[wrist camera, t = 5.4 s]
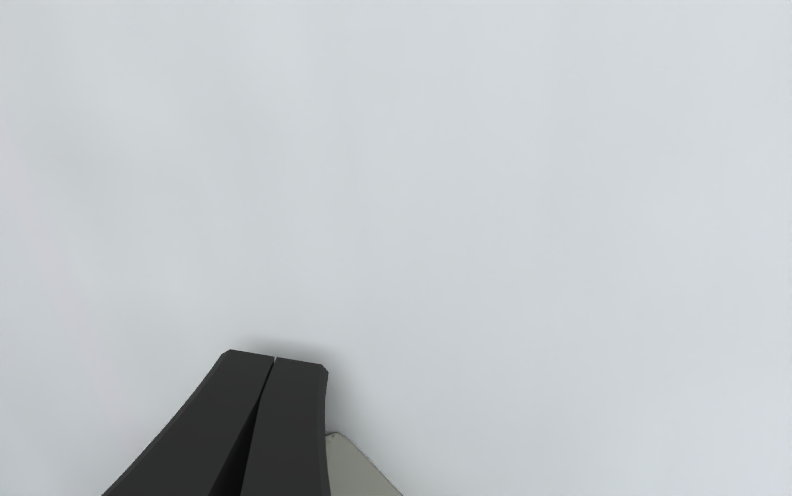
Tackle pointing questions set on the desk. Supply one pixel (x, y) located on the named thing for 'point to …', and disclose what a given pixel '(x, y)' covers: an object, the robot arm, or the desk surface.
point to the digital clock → (353, 471)
